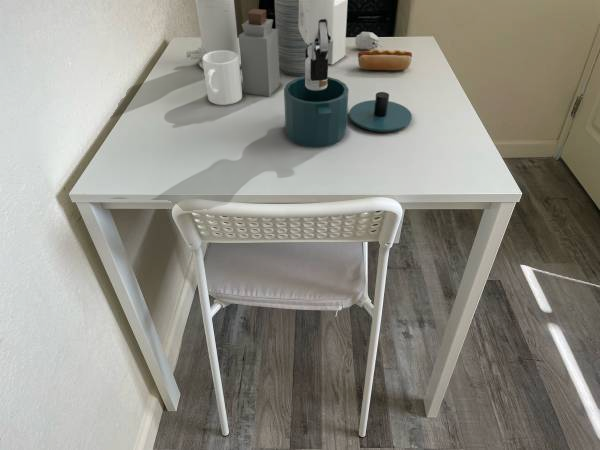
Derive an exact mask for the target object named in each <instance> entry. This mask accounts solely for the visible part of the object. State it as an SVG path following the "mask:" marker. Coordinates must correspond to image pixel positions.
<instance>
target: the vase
mask: <svg viewBox="0 0 600 450" xmlns="http://www.w3.org/2000/svg"><path fill="white" fill-rule="evenodd" d="M298 19H299V0H274V20H275V21H274V23H275V29H277V31H278V56H279V68H281V69H282V71H283V72H284V73H285V74H287V75H290V76H293V77H294V76H296V77H303V75H305V60H306V49H308V48H306V43H305V41H304V39H303V38H302V36H301V33H300V31H299V27H298Z"/></svg>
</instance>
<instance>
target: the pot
mask: <svg viewBox="0 0 600 450" xmlns="http://www.w3.org/2000/svg"><path fill="white" fill-rule="evenodd" d="M349 91H350V90H349V87H348V86H347V83H345V82H343V81H341V80H340V79H339V78H333V77H330V76H328V80H327V87H326V88H325V89H323V90H319V91H313V90H309V89H307V88H306V86H305V75H303V76H301V77H299V78H295V79H293V80H291V81H289V82H288V83H287V84H286V85H285V86H284V88H283V98H284V100H283V101H284V127H285V128H284V129H285V135H286V137H287V138H288V139H289V140H290V141H291V142H292V143H295V144H297V145H300V146H304V147H307V148H323V147H328V146H333V145H335V144H337V143H339V142H340V141H342V140H343V139H344V137H346V136H345V135H346V131H347V123H348V122H347V121H348V107H349Z"/></svg>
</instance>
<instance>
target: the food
mask: <svg viewBox="0 0 600 450" xmlns="http://www.w3.org/2000/svg"><path fill="white" fill-rule="evenodd" d="M412 57H413V53H412V52H411V51H406V50H403V51H401V50H399V49H396V50H395V49H394V50H389V49H383V50H379V49H370V50H361V51H359V52H358V53H357V62H358V66H359V68H360V69H361V70H364V71H365V70H366V71H405V70H407V69H408V68H410V66H411V63H412V60H413V59H412Z"/></svg>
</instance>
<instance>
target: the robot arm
mask: <svg viewBox="0 0 600 450" xmlns="http://www.w3.org/2000/svg"><path fill="white" fill-rule="evenodd" d="M194 1H195V6H196V14H197V20H198V27H199V34H200V40H201V45H200V47H197V48H196V49H194V48H193V49H191V48H190V49H185V54H186V58H190V59H191V60H198V65H199V67H200V68H201V69H202V70H204V67H203V61H202V58H203V56H204V55H205V54H207V53H209V52H213V51H218V50H227V51H232V52H235V53H236V54H237V55H238V56H239V66H240V68H242V67H241V57H240V47H239V37H238V30H237V19H236V8H235V0H194ZM298 27H299V31H300V33H301V36H302V38H303V39H304V41H305V43H306V48H308V46H310V45H312V59H311V70H310V78H311V80H312V81H318V80H326V79H327V78H328V77H329V64H328V43H331V42H332V41H333V34H334V0H299V19H298ZM316 46H319V48H318V49H317V50H316ZM307 57H309V56H308V49H306V58H307Z"/></svg>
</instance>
